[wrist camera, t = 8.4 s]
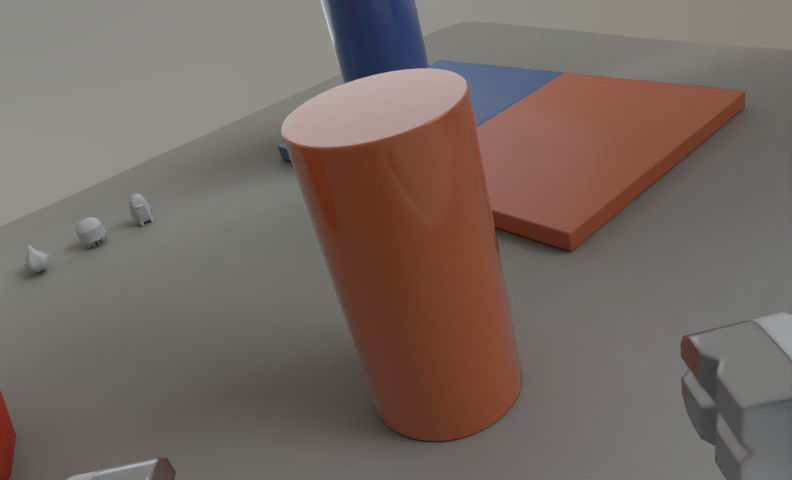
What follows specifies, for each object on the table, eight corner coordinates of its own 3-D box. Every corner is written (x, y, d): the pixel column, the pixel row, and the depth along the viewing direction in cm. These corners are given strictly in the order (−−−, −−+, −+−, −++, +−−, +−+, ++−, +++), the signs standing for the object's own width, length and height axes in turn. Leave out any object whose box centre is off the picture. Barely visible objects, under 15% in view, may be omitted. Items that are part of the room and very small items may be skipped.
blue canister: (455, 109, 45) (420, -69, 39) (394, 145, 42) (347, -41, 37) (400, 100, 49) (361, -63, 43) (341, 132, 46) (291, -37, 41)
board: (745, 107, 38) (746, 90, 38) (571, 252, 30) (569, 233, 30) (442, 71, 55) (439, 59, 55) (281, 158, 47) (276, 145, 47)
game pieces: (31, 281, 40) (14, 254, 39) (28, 268, 42) (11, 241, 41) (160, 222, 43) (148, 196, 42) (153, 212, 45) (140, 186, 44)
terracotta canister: (553, 368, 25) (509, 76, 19) (447, 469, 22) (360, 163, 16) (445, 316, 29) (382, 61, 23) (345, 396, 26) (246, 130, 20)
